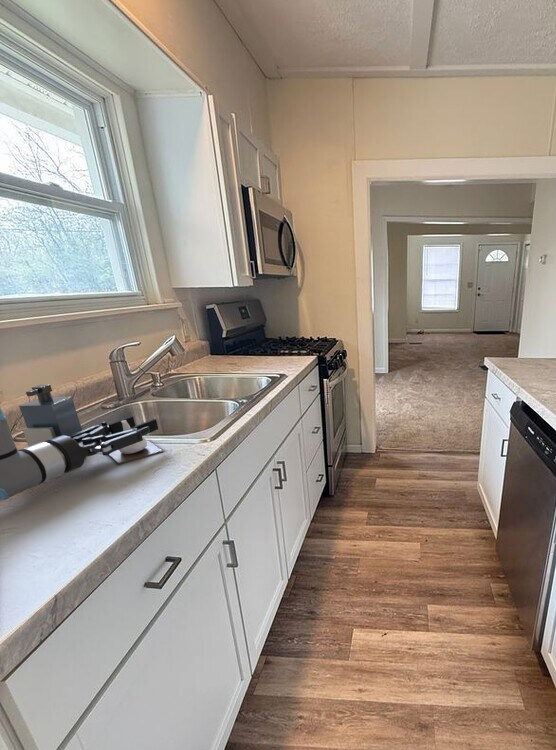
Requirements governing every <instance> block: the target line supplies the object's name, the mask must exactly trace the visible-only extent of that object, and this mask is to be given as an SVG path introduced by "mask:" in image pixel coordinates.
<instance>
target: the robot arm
mask: <svg viewBox="0 0 556 750" xmlns="http://www.w3.org/2000/svg"><path fill="white" fill-rule="evenodd" d="M123 420H126V421H127V423H128V424H129V426H130V428H131V430H127V431H123V425H122V422H121V421H123ZM100 424H101V425H99V424H96V425H92V426H90V427H88V428H85V429H82V431H80V432H77V433H74V434H72V435H69V436H65V435H62V436H58V437H56V438H53V439H50V440H47V441H45V442H40V443H37V444H35V445H32V446H26V447H24V448H21V449H18V448H17V445H16V442H15V440H14V438H13V435H12V432H11V429H10V427H9V423H8V421H7V417H6V416H5V414H4V412H3V409H2V407H1V406H0V502H2V501H6V500H8V499H10V498H12V497H13V496H15V495H18V494H20V493H23V492H24V491H27V490H29V489H31V488H34V487H35V486H38V485H41V484H47V483H49V482H50V480H53V479H54V478H57V477H59V476H62V475H63V474H67V473H69V472H71V471H74V470H76V469H77V468H78V469H79V468H80V467H82V466H83V465H84V463H85V460H86V458H87V457H91V456H95V455H97V454H99V453H102V456H109V454H110V453H112V452H114V451H116V450H119V449H122V448H124V447H127V446H130V445H132V444H135V443H137V442H140V441H142V440H143V438H142V436H143V437H144V436H145V435H148V434H150V433H153V432H155V431H158V430H159V426H158V422H157V419H156V418H152V419H150V420H148V421H144V422H142V423H140V424H137V425H136V422H135V417H134V416H131V415H130V416H128V417H124V418H122V419H119V420H116V421H114V422H110V423H107V421H102V422H101V423H100Z"/></svg>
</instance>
